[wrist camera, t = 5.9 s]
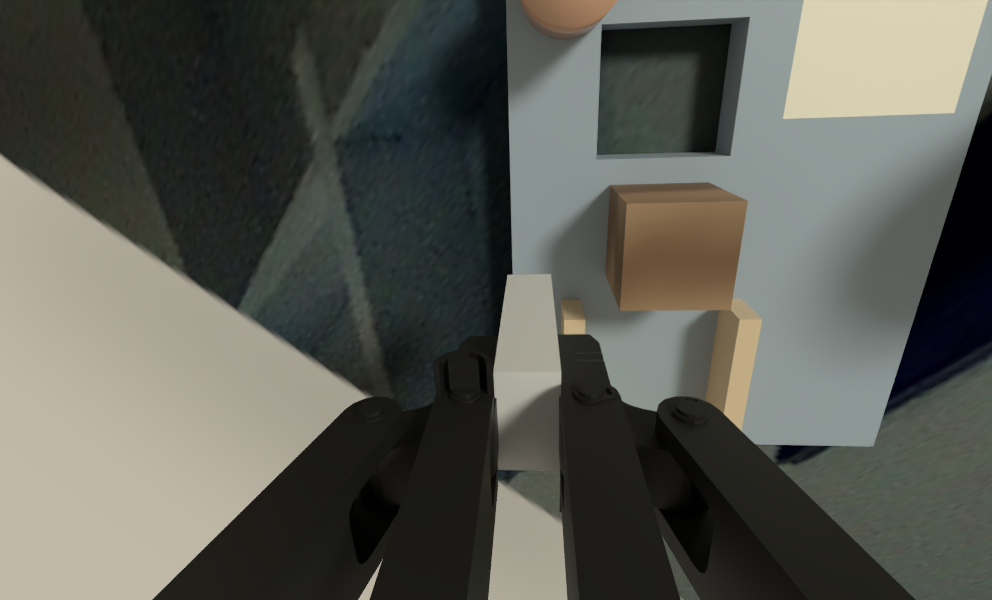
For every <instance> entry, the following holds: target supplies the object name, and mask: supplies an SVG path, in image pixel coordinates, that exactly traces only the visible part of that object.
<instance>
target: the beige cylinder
mask: <svg viewBox="0 0 992 600" xmlns="http://www.w3.org/2000/svg"><path fill="white" fill-rule="evenodd" d="M519 1H520V5H521V8H522V10H523V12H524V15H525V16H526V18H527V20H528V21H529V22H530V24H531V25H532V26H533V27H534V28H535V29H536V30H538V31H539V32H540V33H542V34H544V35H546V36H548V37H551V38H554V39H564V40H566V39H573V38H576V37H579V36H582V35H584V34H586V33H587V32H589V31H590V30H592V29H593V28H594V27H595V26H596V25H597V24H598V23H599V22H600V21H601V20H602V19H603V18H604V17H605V15H606V14H607V13H608V12H609V11H610V9H611V8H612V7H613V6H614V5H615V3H616V2H617V1H618V0H519Z"/></svg>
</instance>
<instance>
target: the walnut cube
mask: <svg viewBox="0 0 992 600" xmlns="http://www.w3.org/2000/svg"><path fill="white" fill-rule="evenodd" d="M747 205H748V201H747V200H745V199H743V198H741V197H739V196H736V195H734V194H732V193H730V192H728V191H726V190H724V189H722V188H720V187H717V186H715V185H713V184H711V183H709V182H702V183H663V184H625V185H610V194H609V214H608V233H607V253H606V273H605V275H606V278H607V280H608V283H609V285H610V288H611V290H612V293H613V295H614V298H615V300H616V302H617V305H618V307H619V310H620V311H672V310H731V306H732V299H733V293H734V287H735V280H736V274H737V268H738V261H739V255H740V249H741V242H742V236H743V230H744V224H745V217H746V211H747Z"/></svg>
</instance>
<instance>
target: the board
mask: <svg viewBox="0 0 992 600" xmlns="http://www.w3.org/2000/svg"><path fill="white" fill-rule="evenodd" d="M506 22H507V63H508V104H509V145H510V186H511V227H512V268H513V275H526V274H551V279H552V288H553V298H554V307H555V317H556V326H557V334H590V335H591V336H592V337H593V338H595V339H596V340H597V341H598V342H599V344H600V348H601V351H602V355H603V359H604V362H605V366H606V369H607V373H608V377H609V380H610V384H611V386H613V387H614V388H616V389H617V391H618V392H619V394H620V396H621V399H622V401H623V402H625V403H627V404H629V405H632V406H634V407H638V408H642V409H646V410H651V411H656V412H657V408H658V404H659V403H661V402H662V401H663V400H664V399H667V398H671V397H675V396H688V397H694V398H698V399H701V400H703V401H706V402H708V403H711V404H712V405H714V406H715V407H716V408H718V409H719V410H720V411H721V412H722V413H723V414H724V415H725V416H726V417H728V418H729V419H730V420H731V421H732V422H733V423H734V424H735V425H736V426H737V427H738V428H739V429H740V430H741V431H742V432H743V433H744V434H745V435H746V436H747V437H748V438H749V439H750V440H751V441H752V442H753V443H754V444H764V445H822V446H874V442H875V439H876V436H877V433H878V430H879V427H880V424H881V420H882V417H883V414H884V411H885V408H886V405H887V402H888V398H889V395H890V392H891V389H892V386H893V383H894V380H895V376H896V373H897V370H898V367H899V364H900V361H901V358H902V354H903V351H904V348H905V345H906V342H907V339H908V336H909V332H910V329H911V326H912V323H913V320H914V317H915V314H916V310H917V307H918V304H919V301H920V298H921V295H922V292H923V288H924V285H925V282H926V279H927V276H928V273H929V270H930V266H931V263H932V260H933V257H934V254H935V251H936V248H937V244H938V241H939V238H940V235H941V232H942V229H943V225H944V222H945V219H946V216H947V213H948V210H949V207H950V203H951V200H952V197H953V194H954V191H955V188H956V185H957V181H958V178H959V175H960V172H961V169H962V166H963V163H964V159H965V156H966V153H967V150H968V147H969V144H970V141H971V137H972V134H973V131H974V128H975V125H976V122H977V119H978V115H979V112H980V109H981V106H982V103H983V100H984V97H985V93H986V90H987V87H988V84H989V81H990V78H991V75H992V0H618V1H617V2H616V3H615V5H614V6H613V7H612V8H611V9H610V11H609V12H608V13H607V14H606V15H605V17H604V18H603V19H602V20H601V21H600V22H599V23H598V24H597V25H596V26H595V27H594V28H593V29H592V30H590V31H589V32H587V33H586V34H584V35H582V36H579V37H576V38H573V39H566V40H564V39H554V38H551V37H548V36H546V35H544V34H542V33H540V32H539V31H538V30H536V29H535V28H534V27H533V26H532V25H531V24H530V22H529V21H528V20H527V18H526V16H525V15H524V12H523V10H522V8H521V5H520V1H519V0H506ZM719 24H732V26H731V34H730V42H729V50H728V57H727V65H726V73H725V81H724V88H723V96H722V104H721V111H720V119H719V127H718V135H717V142H716V150H715V152H684V153H650V154H616V155H596V154H597V129H598V104H599V80H600V55H601V31H602V30H618V29H638V28H659V27H679V26H699V25H719ZM702 182H709V183H711V184H713V185H715V186H717V187H720V188H722V189H724V190H726V191H728V192H730V193H732V194H734V195H736V196H739V197H741V198H743V199H745V200H747V201H748V205H747V211H746V217H745V224H744V230H743V236H742V242H741V249H740V255H739V261H738V268H737V274H736V280H735V287H734V293H733V299H732V306H731V310H672V311H620V310H619V307H618V305H617V302H616V300H615V298H614V295H613V293H612V290H611V288H610V285H609V283H608V280H607V278H606V275H605V273H606V253H607V233H608V214H609V194H610V185H625V184H663V183H702Z"/></svg>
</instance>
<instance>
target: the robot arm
mask: <svg viewBox="0 0 992 600" xmlns="http://www.w3.org/2000/svg"><path fill="white" fill-rule="evenodd" d="M433 368H434V378H435V388H436V397H435V400H434V403H433V404H430V405H428V406H426V407H422V408H419V409H414V410H409V411H404V412H402V409H401V405H400V404H399V403H398V402H397V401H396V400H394V399H391V398H388V397H371V398H366V399H363V400H361V401H358V402H356V403H354V404H352V405H351V406H349V407H348V408H347V409H345V410H344V411H343V412H342V413H341V414H340V415H339V416H338V417H337V418H336V419H335V420H334V421H333V422H332V423H331V424H330V425H329V426H328V427H327V428H326V429H325V430H324V431H323V432H322V433H321V434H320V435H319V436H318V437H317V438H316V439H315V440H314V441H313V442H312V443H311V444H310V445H309V446H308V447H307V448H306V449H305V450H304V451H303V452H302V453H301V454H300V455H299V456H298V457H297V458H296V459H295V460H294V461H293V462H292V463H291V464H290V465H289V466H288V467H287V468H285V469H284V471H283V472H281V473H280V474H279V475H278V476H277V477H276V478H275V479H274V480H273V481H272V482H271V483H270V484H269V485H268V486H267V487H266V488H265V489H264V490H263V491H262V492H261V493H260V494H259V495H258V496H257V497H256V498H255V499H254V500H253V501H252V502H251V503H250V504H249V505H248V506H247V507H246V508H245V509H244V510H243V511H242V512H241V513H240V514H239V515H238V516H237V517H236V518H235V519H234V520H233V521H232V522H231V523H230V524H229V525H228V526H227V527H226V528H225V529H224V530H223V531H222V532H221V533H220V534H219V535H218V536H217V537H215V539H213V541H211V542H210V543H209V544H208V545H207V546H206V547H205V548H204V549H203V550H202V551H201V552H200V553H199V554H198V555H197V556H196V557H195V558H194V559H193V560H192V561H191V562H190V563H189V564H188V565H187V566H186V567H185V568H184V569H183V570H182V571H181V572H180V573H179V574H178V575H177V576H176V577H175V578H174V579H173V580H172V581H171V582H170V583H169V584H168V585H167V586H166V587H165V588H164V589H163V590H162V591H161V592H160V593H159V594H158V595H157V596H156V597H155V598H154V599H153V600H358V599H359V597H360V596H361V594H362V592H363V590H364V589H365V587H366V585H367V584H368V582H369V581H370V579H371V577H372V576H373V574H374V572H375V571H376V569H377V567H378V566H379V564H380V562H381V561H382V559H383V561H382V563H381V566H380V569H379V573H378V576H377V579H376V582H375V585H374V588H373V591H372V594H371V597H370V600H488V593H489V581H490V570H491V557H492V547H493V535H494V524H495V512H496V501H497V490H498V478H497V464H498V470H543V471H560V512H562V523H563V537H564V553H565V566H566V567H565V568H566V583H567V597H568V600H680V597H679V593H678V590H677V587H676V583H675V580H674V576H673V573H672V570H671V566H670V563H669V559H668V556H667V553H666V549H665V546H664V542H663V539H662V536H663V537H664V539H665V541H666V542H667V544H668V546H669V548H670V549H671V551H672V553H673V554H674V556H675V558H676V559H677V561H678V563H679V564H680V566H681V568H682V569H683V571H684V573H685V574H686V576H687V578H688V579H689V581H690V583H691V585H692V586H693V588H694V590H695V591H696V593H697V595H698V596H699V598H700V600H915V599H914V598H913V597H912V596H911V595H910V594H909V593H908V592H907V591H906V590H905V589H904V588H903V587H902V586H901V585H900V584H899V583H898V582H897V581H896V580H895V579H894V578H893V577H892V576H891V575H889V574H888V573H887V572H886V571H885V570H884V569H883V568H882V567H881V566H880V565H879V564H878V563H877V562H876V561H875V560H874V559H873V558H872V557H871V556H870V555H869V554H868V553H867V552H866V551H865V550H864V549H863V548H862V547H861V546H860V545H859V544H858V543H856V542H855V541H854V540H853V539H852V538H851V537H850V536H849V535H848V534H847V533H846V532H845V531H844V530H843V529H842V528H841V527H840V526H839V525H838V524H837V523H836V522H835V521H834V520H833V519H832V518H831V517H830V516H829V515H828V514H827V513H826V512H824V511H823V510H822V509H821V508H820V507H819V506H818V505H817V504H816V503H815V502H814V501H813V500H812V499H811V498H810V497H809V496H808V495H807V494H806V493H805V492H804V491H803V490H802V489H801V488H800V487H799V486H798V485H797V484H796V483H795V482H794V481H793V480H791V479H790V478H789V477H788V476H787V475H786V474H785V473H784V472H783V471H782V470H781V469H780V468H779V467H778V466H777V465H776V464H775V463H774V462H773V461H772V460H771V459H770V458H769V457H768V456H767V455H766V454H765V453H764V452H763V451H762V450H761V449H759V448H758V447H757V446H756V445H755V444H754V443H753V442H752V441H751V440H750V439H749V438H748V437H747V436H746V435H745V434H744V433H743V432H742V431H741V430H740V429H739V428H738V427H737V426H736V425H735V424H734V423H733V422H732V421H731V420H730V419H729V418H728V417H726V416H725V415H724V414H723V413H722V412H721V411H720V410H719V409H718V408H716V407H715V406H714V405H712V404H711V403H708V402H706V401H703V400H701V399H698V398H694V397H688V396H675V397H671V398H667V399H664V400H663V401H662V402H661V403H659V404H658V408H657V412H656V411H651V410H646V409H642V408H638V407H634V406H632V405H629V404H627V403H625V402H623V401H622V399H621V396H620V394H619V392H618V391H617V389H616V388H614V387H613V386H611V384H610V380H609V377H608V373H607V369H606V366H605V362H604V359H603V355H602V351H601V348H600V344H599V342H598V341H597V340H596V339H595V338H593V337H592V336H591V335H590V334H557V326H556V317H555V307H554V298H553V288H552V279H551V274H526V275H507V282H506V289H505V296H504V302H503V309H502V316H501V323H500V330H499V336H469V337H468V338H467V339H465V340H464V341H463V342H462V343H461V344H460V346H459V349H458V350H456V351H452V352H449V353H445V354H443V355H442V356H440V357H438V358H437V359H436V360H435V362H434V363H433ZM661 534H662V535H661Z"/></svg>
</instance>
